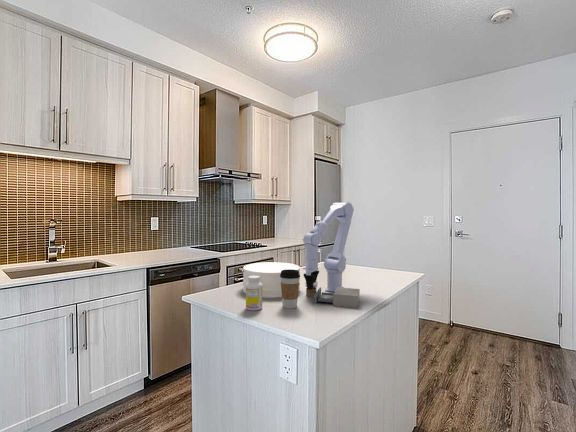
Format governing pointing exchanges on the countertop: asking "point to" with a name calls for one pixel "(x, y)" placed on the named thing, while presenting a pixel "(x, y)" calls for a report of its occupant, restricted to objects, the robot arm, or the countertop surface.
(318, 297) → the tray
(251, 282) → the supplement bottle
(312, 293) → the brown cube
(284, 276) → the coffee cup
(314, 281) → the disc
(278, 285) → the plate stack
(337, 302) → the block
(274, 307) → the countertop surface
